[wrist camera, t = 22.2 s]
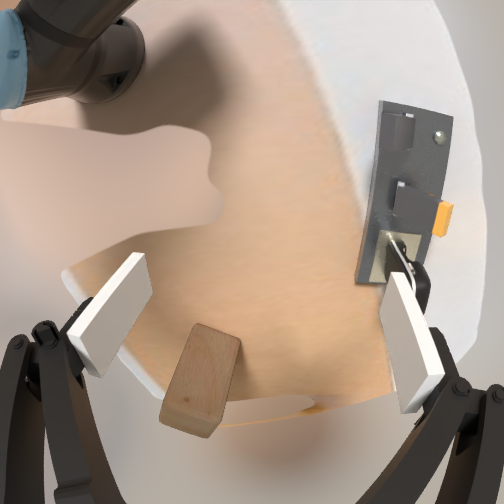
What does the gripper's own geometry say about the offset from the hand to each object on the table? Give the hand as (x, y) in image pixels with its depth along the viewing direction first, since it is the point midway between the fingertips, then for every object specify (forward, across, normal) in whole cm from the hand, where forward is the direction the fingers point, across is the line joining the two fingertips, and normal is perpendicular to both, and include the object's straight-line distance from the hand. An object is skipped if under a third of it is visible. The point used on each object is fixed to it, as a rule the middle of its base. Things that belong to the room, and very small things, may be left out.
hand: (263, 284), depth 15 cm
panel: (+29, +18, -4) cm, 34 cm away
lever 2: (+26, +16, -3) cm, 30 cm away
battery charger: (+27, +18, -13) cm, 35 cm away
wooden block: (+29, -13, -38) cm, 49 cm away
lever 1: (+26, +16, +6) cm, 31 cm away
